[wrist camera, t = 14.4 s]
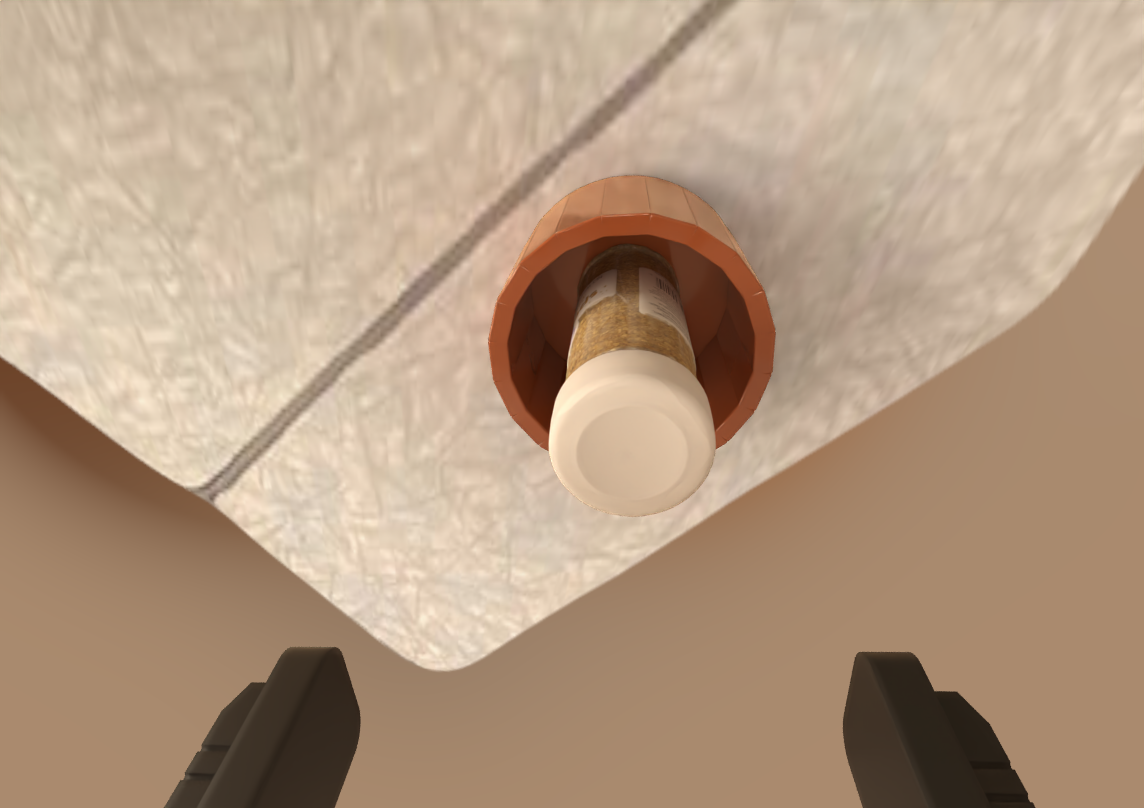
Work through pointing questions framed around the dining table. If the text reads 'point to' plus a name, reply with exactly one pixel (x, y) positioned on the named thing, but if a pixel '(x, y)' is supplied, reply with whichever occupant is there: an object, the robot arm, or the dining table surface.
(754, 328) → the cup
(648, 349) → the sprinkles bottle
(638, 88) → the dining table surface
